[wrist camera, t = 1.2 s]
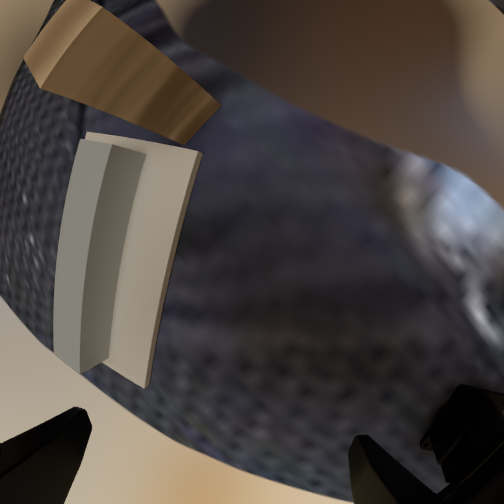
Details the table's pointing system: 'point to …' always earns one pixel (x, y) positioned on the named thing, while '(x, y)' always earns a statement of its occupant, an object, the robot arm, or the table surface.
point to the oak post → (117, 72)
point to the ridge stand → (118, 251)
